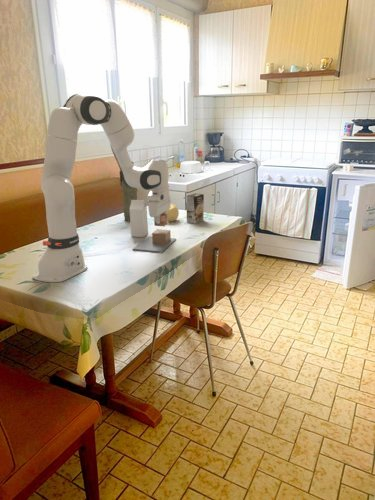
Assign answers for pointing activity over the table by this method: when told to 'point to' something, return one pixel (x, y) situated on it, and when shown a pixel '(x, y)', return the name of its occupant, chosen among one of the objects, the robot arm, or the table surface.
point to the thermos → (128, 197)
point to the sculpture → (172, 213)
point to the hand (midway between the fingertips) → (161, 221)
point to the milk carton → (138, 218)
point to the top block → (162, 220)
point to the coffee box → (195, 208)
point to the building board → (152, 246)
